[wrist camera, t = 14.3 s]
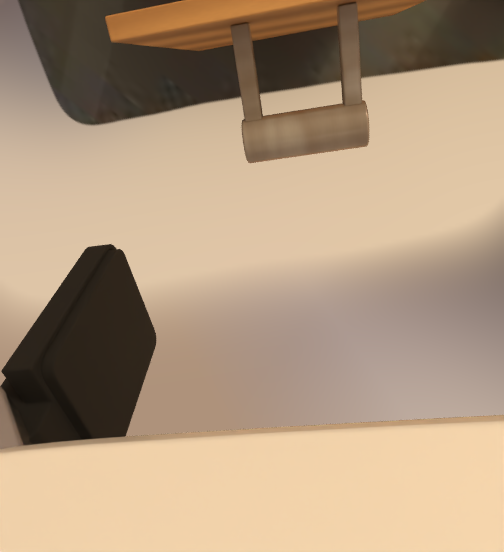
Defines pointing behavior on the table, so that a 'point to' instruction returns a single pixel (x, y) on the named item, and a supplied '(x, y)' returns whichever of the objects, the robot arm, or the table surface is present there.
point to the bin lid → (240, 33)
